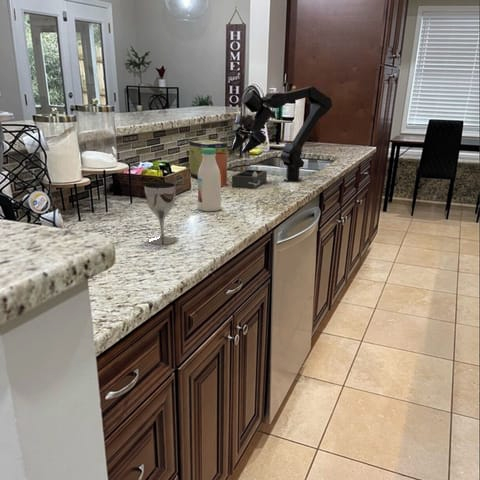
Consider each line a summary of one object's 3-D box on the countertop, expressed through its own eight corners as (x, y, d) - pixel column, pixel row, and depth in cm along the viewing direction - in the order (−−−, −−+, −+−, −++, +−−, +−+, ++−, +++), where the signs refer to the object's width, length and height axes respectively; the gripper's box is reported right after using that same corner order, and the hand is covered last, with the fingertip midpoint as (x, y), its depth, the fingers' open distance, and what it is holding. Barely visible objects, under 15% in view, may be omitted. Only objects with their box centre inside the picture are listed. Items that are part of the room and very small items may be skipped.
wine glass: (149, 236, 140) (145, 182, 134) (177, 236, 141) (175, 182, 135) (146, 245, 133) (143, 188, 127) (176, 244, 134) (174, 188, 128)
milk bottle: (224, 207, 174) (224, 147, 166) (215, 212, 167) (215, 150, 159) (203, 205, 176) (202, 146, 168) (194, 210, 169) (193, 149, 161)
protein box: (208, 181, 219) (208, 144, 213) (189, 176, 230) (188, 141, 224) (227, 179, 225) (228, 142, 219) (208, 174, 236) (207, 139, 230)
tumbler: (214, 183, 216) (214, 151, 211) (228, 184, 214) (228, 152, 209) (209, 185, 210) (208, 153, 205) (223, 186, 208) (223, 154, 203)
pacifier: (241, 187, 207) (255, 188, 205) (241, 172, 204) (255, 172, 202) (248, 184, 213) (261, 185, 211) (248, 169, 211) (261, 170, 208)
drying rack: (231, 186, 208) (231, 175, 207) (246, 179, 224) (246, 169, 222) (253, 188, 205) (253, 177, 204) (266, 181, 221) (266, 170, 219)
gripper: (235, 105, 208) (214, 136, 209) (258, 107, 193) (234, 141, 194) (253, 123, 215) (232, 153, 215) (276, 126, 200) (253, 159, 200)
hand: (237, 151), depth 206 cm, fingers open, 9 cm apart
